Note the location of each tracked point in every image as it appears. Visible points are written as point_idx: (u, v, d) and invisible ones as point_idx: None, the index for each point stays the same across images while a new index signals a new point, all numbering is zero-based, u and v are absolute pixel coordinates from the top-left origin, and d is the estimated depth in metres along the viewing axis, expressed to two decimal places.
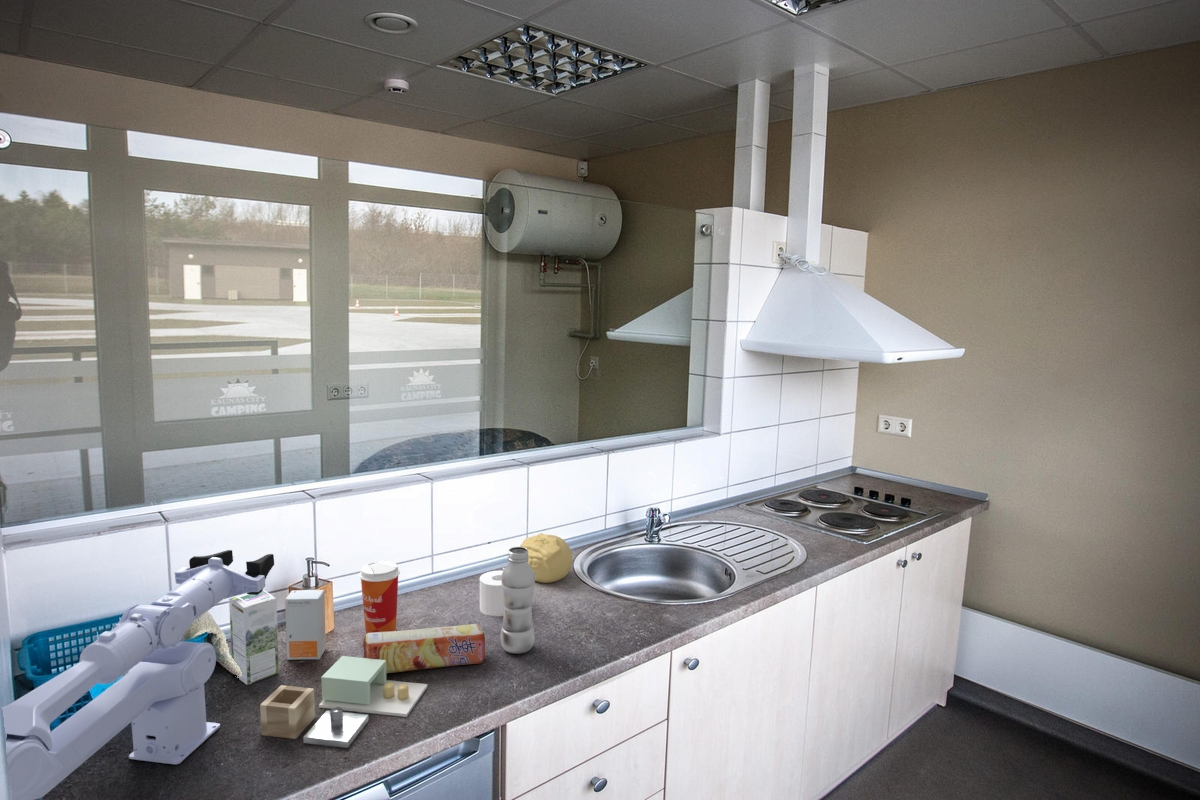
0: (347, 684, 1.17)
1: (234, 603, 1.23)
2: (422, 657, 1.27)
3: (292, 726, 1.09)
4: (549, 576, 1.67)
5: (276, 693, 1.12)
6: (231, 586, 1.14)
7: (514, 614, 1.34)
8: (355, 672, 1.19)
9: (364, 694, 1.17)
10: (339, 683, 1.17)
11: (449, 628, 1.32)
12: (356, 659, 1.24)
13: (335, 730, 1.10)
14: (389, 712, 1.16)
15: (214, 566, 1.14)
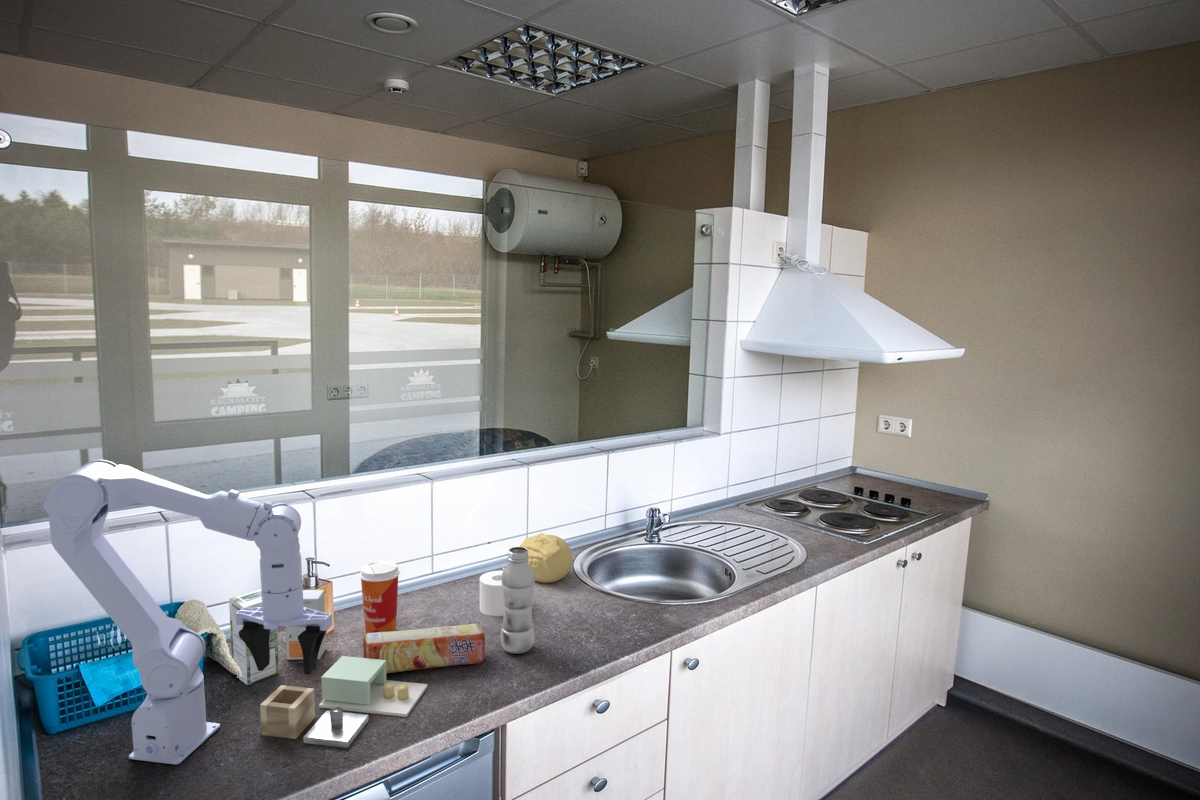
0: (347, 684, 1.17)
1: (234, 603, 1.23)
2: (422, 657, 1.27)
3: (292, 726, 1.09)
4: (549, 576, 1.67)
5: (276, 693, 1.12)
6: None
7: (514, 614, 1.34)
8: (355, 672, 1.19)
9: (364, 694, 1.17)
10: (339, 683, 1.17)
11: (449, 628, 1.32)
12: (356, 659, 1.24)
13: (335, 730, 1.10)
14: (389, 712, 1.16)
15: (272, 620, 1.07)
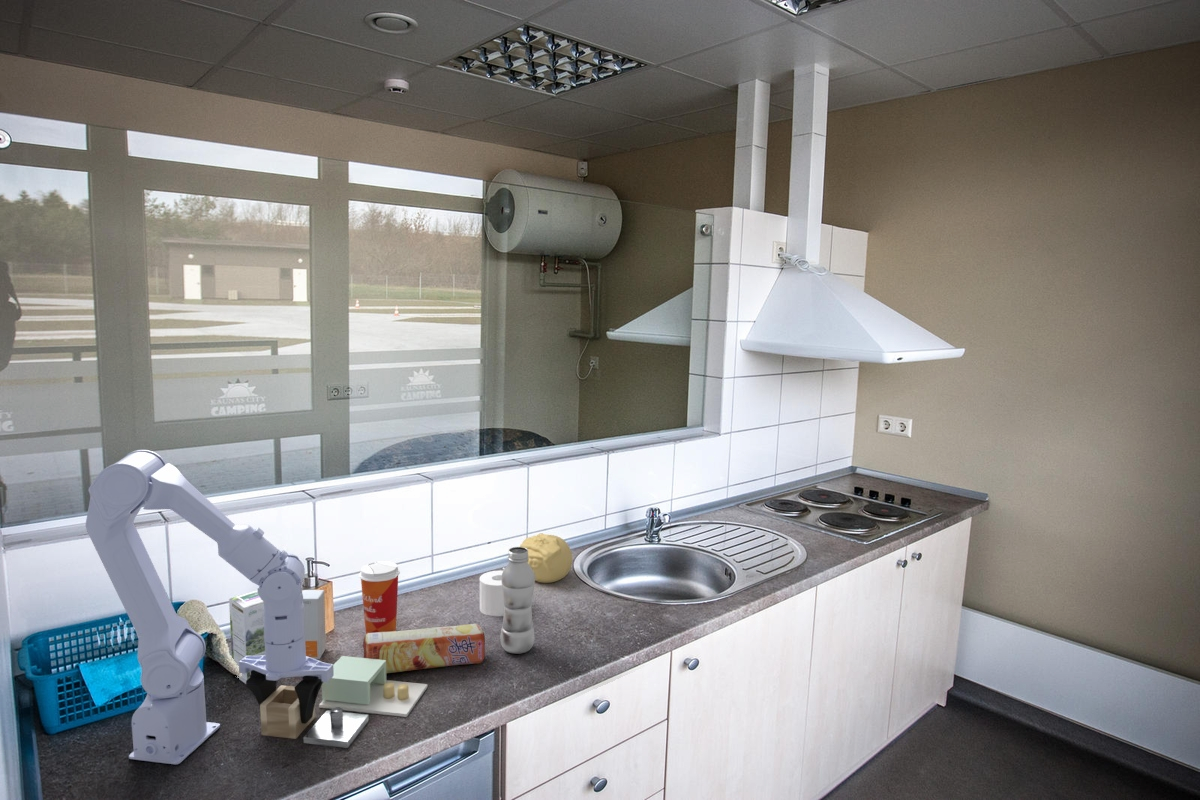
0: (347, 684, 1.17)
1: (234, 603, 1.23)
2: (422, 657, 1.27)
3: (292, 726, 1.09)
4: (549, 576, 1.67)
5: (276, 693, 1.12)
6: None
7: (514, 614, 1.34)
8: (355, 672, 1.19)
9: (364, 694, 1.17)
10: (339, 683, 1.17)
11: (449, 628, 1.32)
12: (356, 659, 1.24)
13: (335, 730, 1.10)
14: (389, 712, 1.16)
15: (274, 670, 1.08)
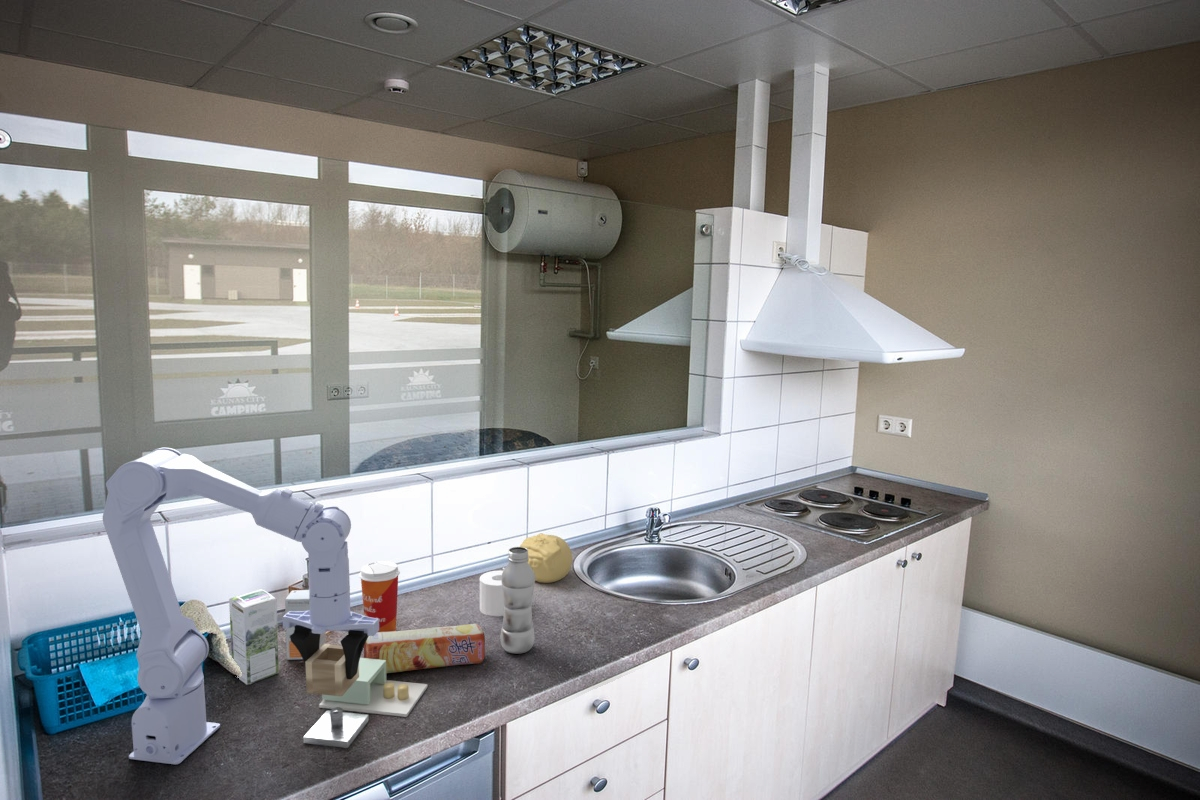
0: None
1: (234, 603, 1.23)
2: (422, 657, 1.27)
3: (338, 683, 1.07)
4: (549, 576, 1.67)
5: (320, 651, 1.10)
6: None
7: (514, 614, 1.34)
8: None
9: (364, 694, 1.17)
10: None
11: (449, 628, 1.32)
12: None
13: (335, 730, 1.10)
14: (389, 712, 1.16)
15: (319, 624, 1.06)
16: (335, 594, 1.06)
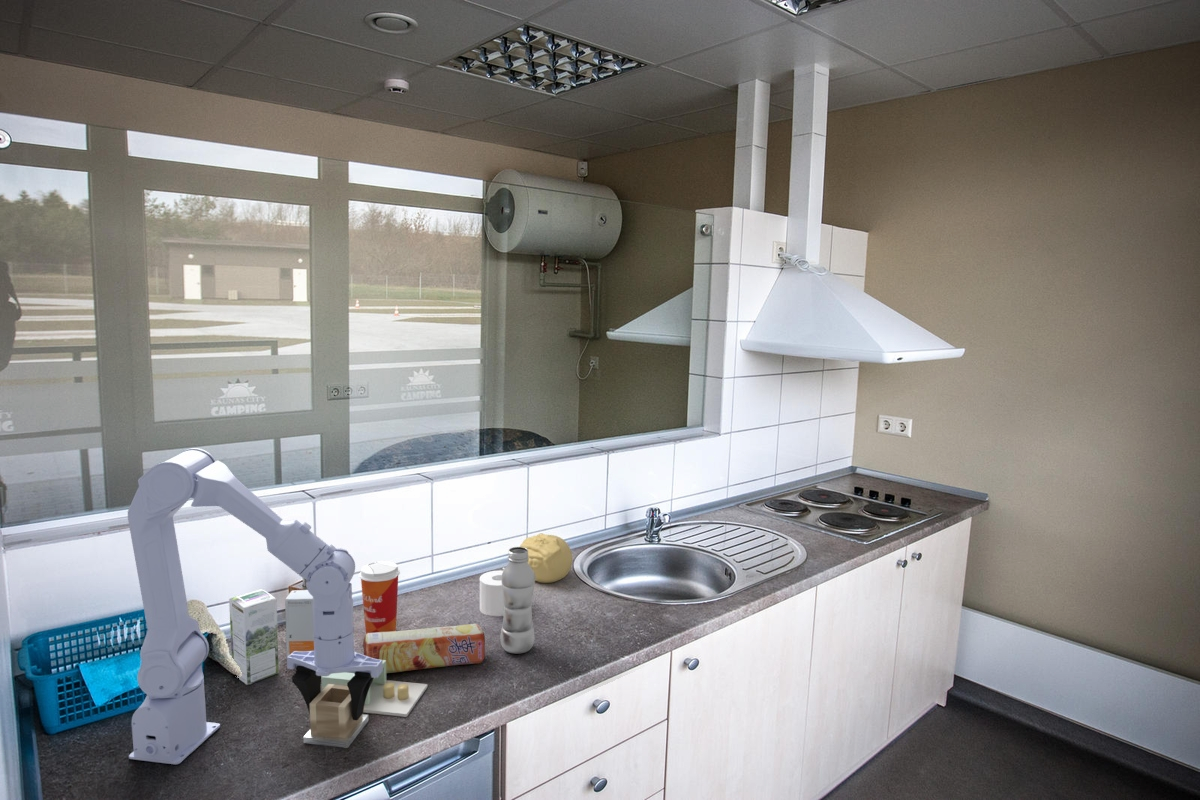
0: None
1: (234, 603, 1.23)
2: (422, 657, 1.27)
3: (342, 725, 1.08)
4: (549, 576, 1.67)
5: (324, 692, 1.11)
6: None
7: (514, 614, 1.34)
8: None
9: None
10: (339, 683, 1.17)
11: (449, 628, 1.32)
12: None
13: None
14: (389, 712, 1.16)
15: (324, 666, 1.07)
16: (339, 636, 1.07)
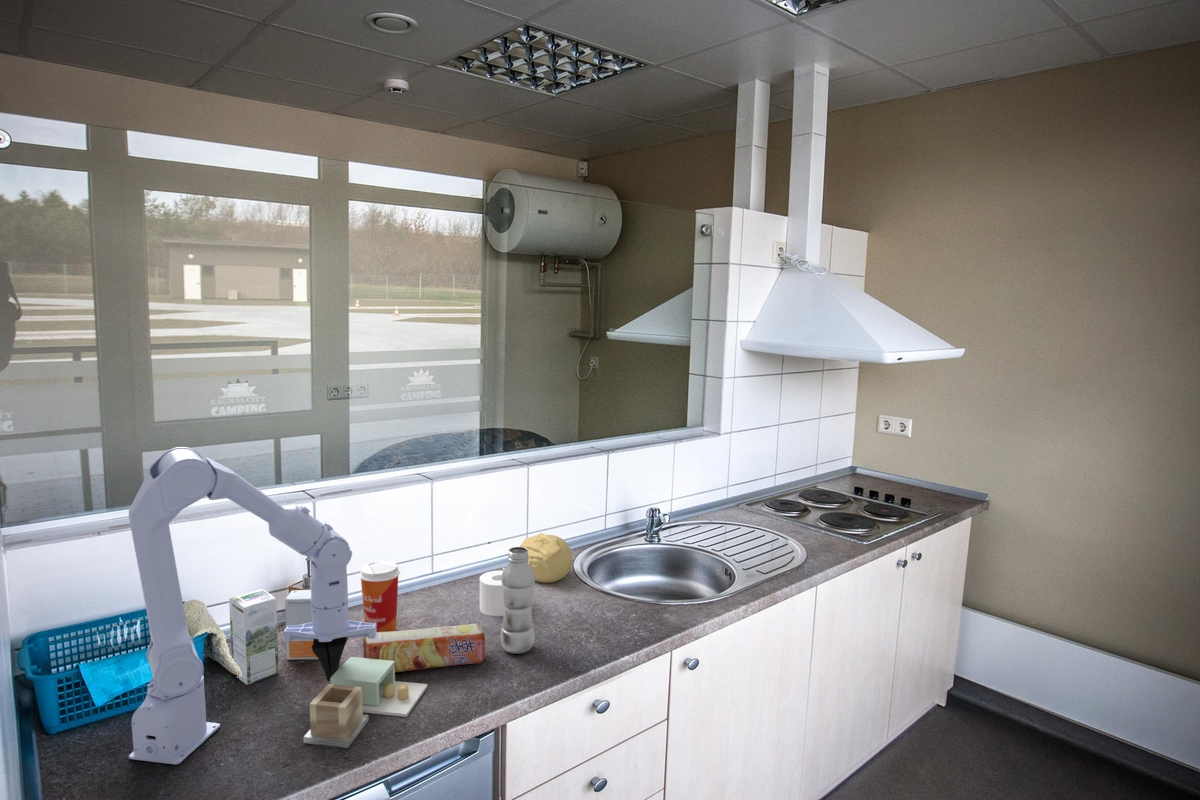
0: (356, 685, 1.17)
1: (234, 603, 1.23)
2: (422, 657, 1.27)
3: (342, 725, 1.08)
4: (549, 576, 1.67)
5: (324, 692, 1.11)
6: None
7: (514, 614, 1.34)
8: (364, 673, 1.19)
9: (373, 694, 1.17)
10: (348, 684, 1.17)
11: (449, 628, 1.32)
12: (364, 660, 1.23)
13: None
14: (389, 712, 1.16)
15: (325, 633, 1.17)
16: None
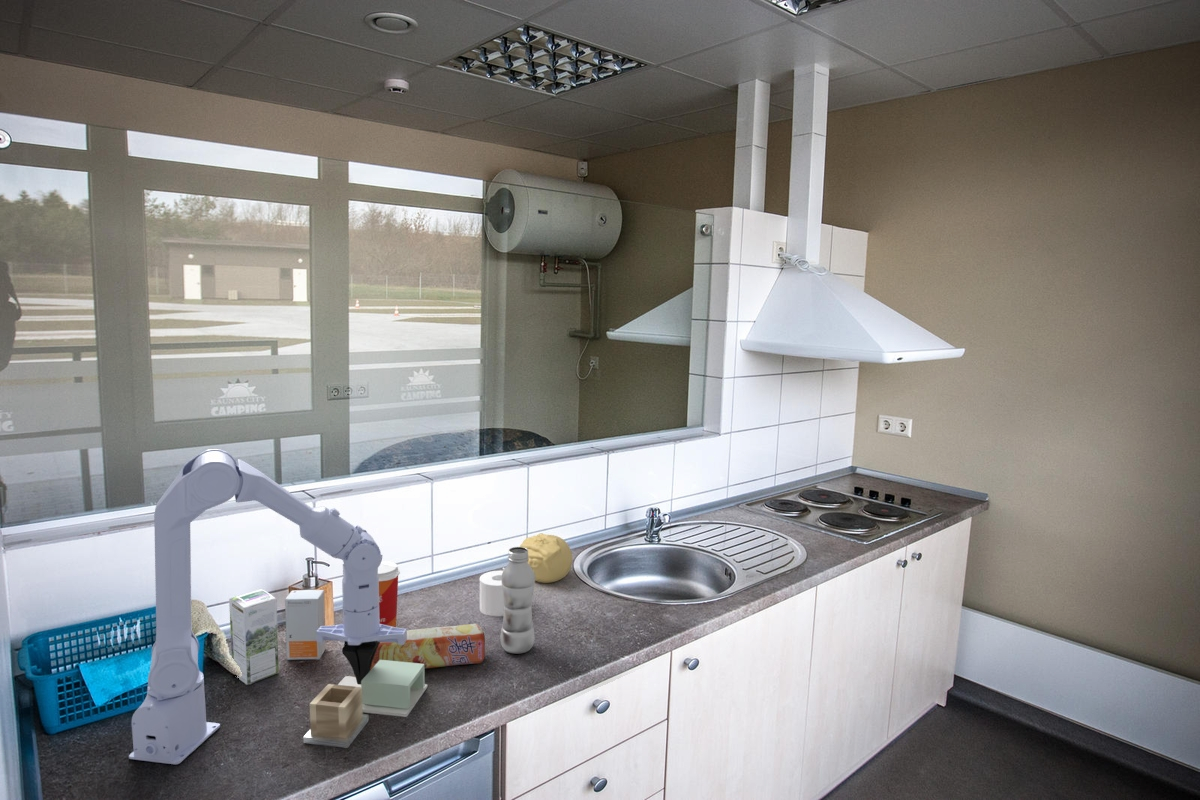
0: (387, 688, 1.16)
1: (234, 603, 1.23)
2: (422, 657, 1.27)
3: (342, 725, 1.08)
4: (549, 576, 1.67)
5: (324, 692, 1.11)
6: None
7: (514, 614, 1.34)
8: (395, 676, 1.18)
9: (405, 698, 1.16)
10: (379, 687, 1.17)
11: (449, 628, 1.32)
12: (394, 663, 1.23)
13: None
14: (389, 712, 1.16)
15: (354, 636, 1.17)
16: None
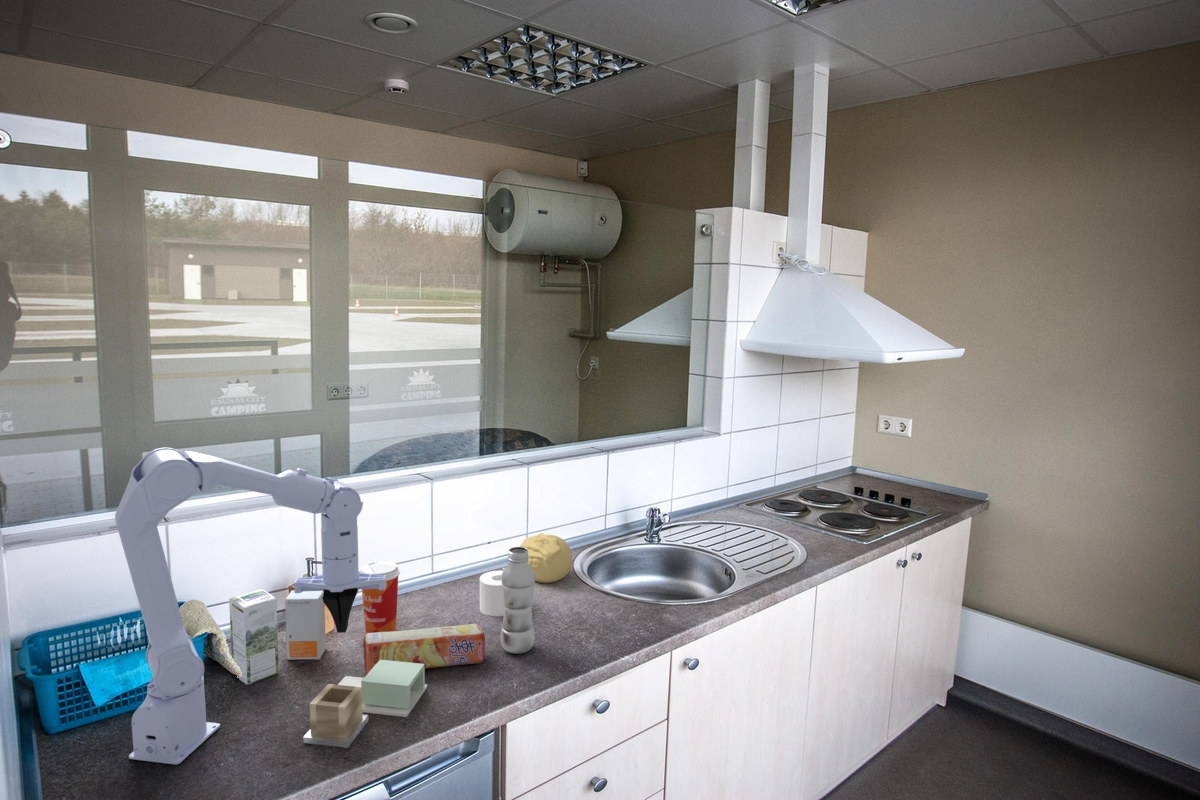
0: (387, 688, 1.16)
1: (234, 603, 1.23)
2: (422, 657, 1.27)
3: (342, 725, 1.08)
4: (549, 576, 1.67)
5: (324, 692, 1.11)
6: None
7: (514, 614, 1.34)
8: (395, 676, 1.18)
9: (405, 698, 1.16)
10: (379, 687, 1.17)
11: (449, 628, 1.32)
12: (394, 663, 1.23)
13: None
14: (389, 712, 1.16)
15: (336, 584, 1.18)
16: None
